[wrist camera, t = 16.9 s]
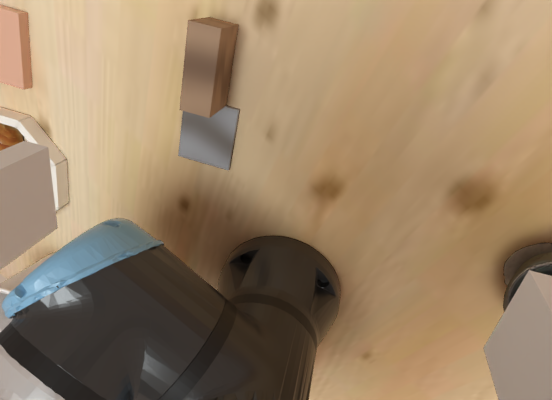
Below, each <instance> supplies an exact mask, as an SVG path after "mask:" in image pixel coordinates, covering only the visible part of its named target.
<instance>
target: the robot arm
mask: <svg viewBox="0 0 552 400" xmlns="http://www.w3.org/2000/svg"><path fill="white" fill-rule="evenodd" d="M57 228H58V226H57V218H56V209H55V200H54V192H53V183H52V175H51V166H50V157H49V149H48V147H46V146H42V145H39V144H35V143H31V142H27V141H23V142H20V143H18V144H15V145H13V146H11V147H8V148H6V149H4V150H1V151H0V270H1V269H2V268H4V267H5V266H6V265H8V264H9V263H10V262H12V261H13V260H15V259H16V258H17V257H19V256H20V255H21V254H23V253H24V252H25V251H27V250H28V249H30V248H31V247H32V246H34V245H35V244H36V243H38V242H39V241H40V240H42V239H43V238H45V237H46V236H47V235H49V234H50V233H51V232H53V231H54V230H55V229H57ZM163 245H164V243H163V242H162V241H161V240H156V239H155V238H153V237H152V236H151V235H149V234H148V233H147V232H145V231H144V230H143V229H141V228H140V227H139V226H137V225H136V224H135V223H133V222H132V221H130V220H127V219H122V218H116V219H110V220H107V221H104V222H102V223H100V224H98V225H96V226H94V227H93V228H91V229H89V230H88V231H86V232H84V233H83V234H81V235H80V236H78V237H77V238H75V239H74V240H72V241H71V242H69V243H68V244H67V245H65V246H64V247H62V248H61V249H60V250H58V251H57V252H56V253H54V254H53V255H52V256H50V257H49V258H48V259H47V260H45V261H44V262H43V263H42V264H40V265H39V266H38V267H37V268H36V269H34V270H33V271H32V272H31V273H30V274H29V275H28V276H26V277H25V278H24V280H23V282H21V283H20V284H19V285H18V286H17V287H16V288H14V289H13V290H12V291H11V292H10V293H9V294H8V295H7V296H6V297H5V299H4V300H3V302H2V309H3V310H4V312H5V316H6V317H8V318H9V319H12V318H13V319H12V321H11V322H10V323H9V324H8V325H7V326H6V327H5V328H4V329H3V330H2V331H1V332H0V400H309V394H310V388H311V381H312V375H313V369H314V362H315V356H316V350H317V347H318V345H319V344H320V342H321V341H322V339H323V338H324V336H325V335H326V333H327V332H328V330H329V329H330V327H331V326H332V324H333V323H334V321H335V319H336V316H337V313H338V309H339V302H340V284H339V280H338V277H337V275H336V273H335V271H334V269H333V267H332V266H331V265H330V263H329V262H328V261H327V260H326V259H325V258H324V257H323V256H322V255H321V254H320V253H319V252H318V251H316V250H315V249H313V248H312V247H310V246H308V245H306V244H304V243H302V242H300V241H297V240H294V239H291V238H286V237H280V236H265V237H259V238H255V239H252V240H249V241H247V242H245V243H243V244H241V245H240V246H239V247H237V248H236V249H235V250H234V251H233V252H232V253H231V255H230V256H229V258H228V260H227V261H226V263H225V265H224V267H223V269H222V271H221V274H220V277H219V282H218V291H217V290H216V289H214V288H213V287H212V286H211V285H210V284H208V283H207V282H206V281H205V280H204V279H202V278H201V277H200V276H199V275H198V274H196V273H195V272H194V271H193V270H192V269H191V268H189V267H188V266H187V265H186V264H185V263H183V262H182V261H181V260H180V259H179V258H177V257H176V256H175V255H174V254H173V253H172V252H170V251H169V250H168V249H167V248H166V247H164V246H163ZM484 352H485V355H486V358H487V362H488V365H489V369H490V372H491V375H492V379H493V382H494V386H495V389H496V392H497V396H498V399H499V400H552V276H550V275H546V274H542V273H538V272H534V271H530V270H529V271H528V273H527V274H526V276H525V278H524V279H523V281H522V283H521V285H520V286H519V288H518V290H517V291H516V293H515V295H514V296H513V298H512V300H511V302H510V303H509V305H508V307H507V308H506V310H505V312H504V314H503V315H502V317H501V319H500V320H499V322H498V324H497V325H496V327H495V329H494V331H493V332H492V334H491V336H490V337H489V339H488V341H487V342H486V344H485V346H484Z"/></svg>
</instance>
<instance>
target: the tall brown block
mask: <svg viewBox="0 0 552 400" xmlns="http://www.w3.org/2000/svg"><path fill="white" fill-rule="evenodd" d="M237 32H238V25H237V24H233V23H230V22H226V21H222V20H218V19H214V18H210V17H207V18H200V19H193V20H188V27H187V38H186V48H185V59H184V70H183V80H182V91H181V101H180V110H182V111H183V115H182V125H181V135H180V146H179V156H181V157H184V158H187V159H191V160H194V161H198V162H201V163H205V164H208V165H212V166H215V167H218V168H222V169H225V170H229V169H230V165H231V159H232V153H233V147H234V141H235V135H236V129H237V123H238V117H239V112H240V109H237V108H233V107H230V106H226V105H227V98H228V91H229V85H230V78H231V71H232V65H233V58H234V51H235V45H236V38H237Z"/></svg>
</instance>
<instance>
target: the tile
mask: <svg viewBox="0 0 552 400" xmlns="http://www.w3.org/2000/svg"><path fill="white" fill-rule="evenodd" d="M0 82H1V83H4V84H8V85H11V86H14V87H17V88H21V89H28V88H31V87H32V73H31V57H30V41H29V26H28V13H26V12H23V11H19V10H16V9H13V8H9V7H6V6H2V5H0Z"/></svg>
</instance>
